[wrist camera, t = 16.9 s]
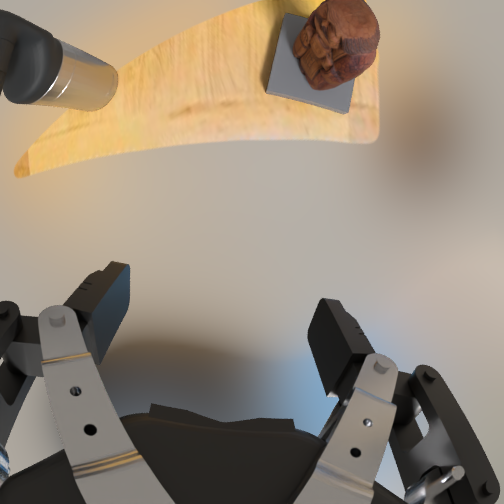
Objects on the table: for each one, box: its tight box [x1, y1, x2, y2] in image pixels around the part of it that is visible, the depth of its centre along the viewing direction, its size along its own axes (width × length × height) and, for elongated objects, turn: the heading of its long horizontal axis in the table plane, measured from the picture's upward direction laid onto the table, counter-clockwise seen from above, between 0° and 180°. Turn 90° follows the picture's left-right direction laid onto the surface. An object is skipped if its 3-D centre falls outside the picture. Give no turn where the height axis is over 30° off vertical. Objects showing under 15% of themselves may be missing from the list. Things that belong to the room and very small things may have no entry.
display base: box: [266, 13, 355, 114], centre depth 35 cm, size 13×15×2 cm
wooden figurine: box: [293, 0, 380, 91], centre depth 26 cm, size 12×6×18 cm, turn 19°
